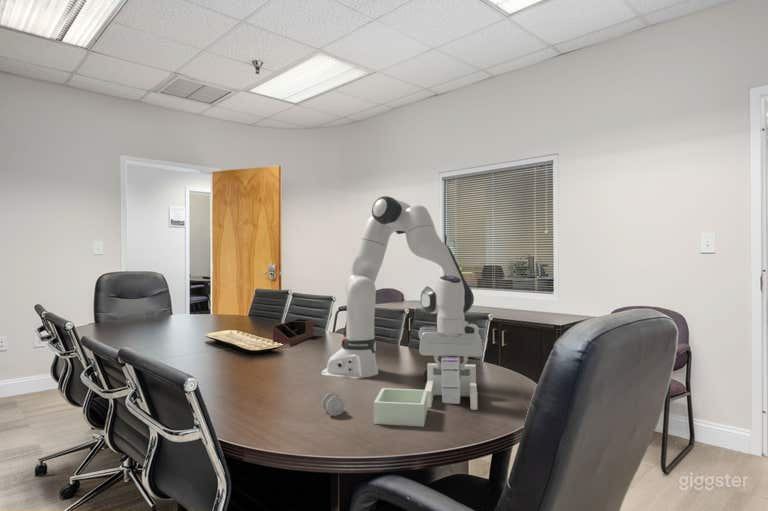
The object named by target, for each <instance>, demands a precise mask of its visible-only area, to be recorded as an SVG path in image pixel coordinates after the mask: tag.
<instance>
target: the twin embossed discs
mask: <svg viewBox="0 0 768 511" xmlns="http://www.w3.org/2000/svg"><path fill="white" fill-rule="evenodd" d="M345 404H346V403H345V400H344V399H343V398H342V397H340V395H339V394H338V393H335V392H334V391H331V392H328V393H327V394H326V395H325V396H324V398H323V400H322V407H323V409H324V410H325V411H326V412H327V413H328V414H329V415H330V416H339V415H341V414H342V413H343V412H344V410H345V407H346V405H345Z"/></svg>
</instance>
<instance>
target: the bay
mask: <svg viewBox="0 0 768 511" xmlns="http://www.w3.org/2000/svg"><path fill="white" fill-rule="evenodd" d="M426 366H427V368H426V370H427V381H426V384H425V388H424V390H427V409H429V408H430V409H431V408H432V405H433V400H434V396H442V372H441V370H438V369H437V363H436V362H434V363H433V362H427V365H426ZM476 370H477V368H476V364H475V363H474V364H471V363H469V364H468V363H466V364H465V370H460V387H461V397H469V404H470V406H469V407H470V410H473V411H476V410H478V388H477V382H476V381H477V374H476V373H477V371H476Z"/></svg>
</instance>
